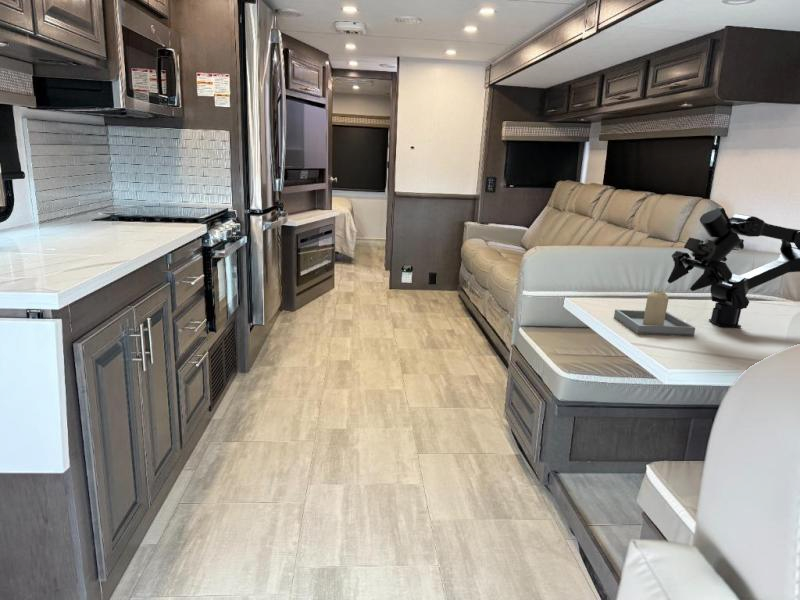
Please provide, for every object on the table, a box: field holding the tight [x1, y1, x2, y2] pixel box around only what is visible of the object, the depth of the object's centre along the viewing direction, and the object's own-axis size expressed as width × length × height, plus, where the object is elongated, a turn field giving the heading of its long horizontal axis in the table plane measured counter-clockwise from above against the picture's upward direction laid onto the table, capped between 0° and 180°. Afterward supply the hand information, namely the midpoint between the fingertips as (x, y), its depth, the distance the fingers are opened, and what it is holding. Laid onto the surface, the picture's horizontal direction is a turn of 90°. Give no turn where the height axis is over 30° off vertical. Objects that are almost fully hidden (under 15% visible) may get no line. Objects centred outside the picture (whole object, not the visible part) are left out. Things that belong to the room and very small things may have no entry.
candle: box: [643, 289, 670, 326], centre depth 159 cm, size 6×6×10 cm
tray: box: [613, 309, 696, 337], centre depth 160 cm, size 16×16×2 cm
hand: (679, 286), depth 159 cm, fingers open, 9 cm apart
